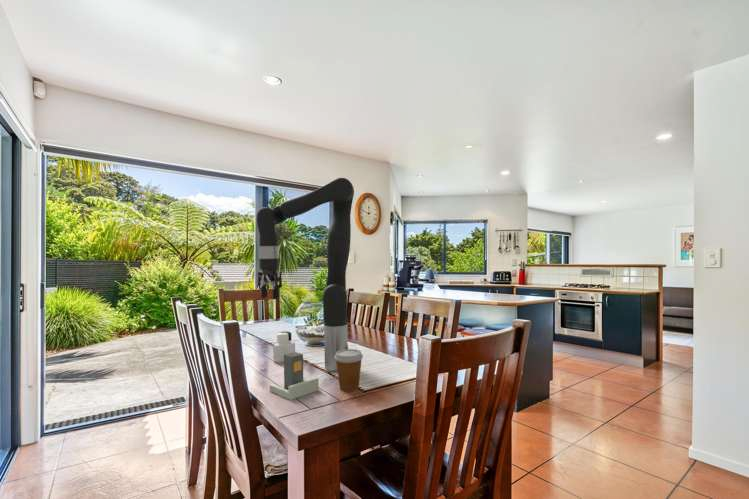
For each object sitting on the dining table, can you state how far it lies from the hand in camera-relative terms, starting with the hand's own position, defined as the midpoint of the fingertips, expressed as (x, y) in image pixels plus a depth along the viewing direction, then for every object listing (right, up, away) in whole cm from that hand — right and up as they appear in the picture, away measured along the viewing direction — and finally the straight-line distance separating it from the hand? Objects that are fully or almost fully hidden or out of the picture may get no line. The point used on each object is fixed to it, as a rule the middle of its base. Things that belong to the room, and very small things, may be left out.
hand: (269, 298), depth 148 cm
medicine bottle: (+3, -28, +11) cm, 31 cm away
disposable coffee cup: (+33, -28, -24) cm, 49 cm away
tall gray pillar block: (+15, -28, -24) cm, 40 cm away
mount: (+15, -28, -25) cm, 40 cm away
